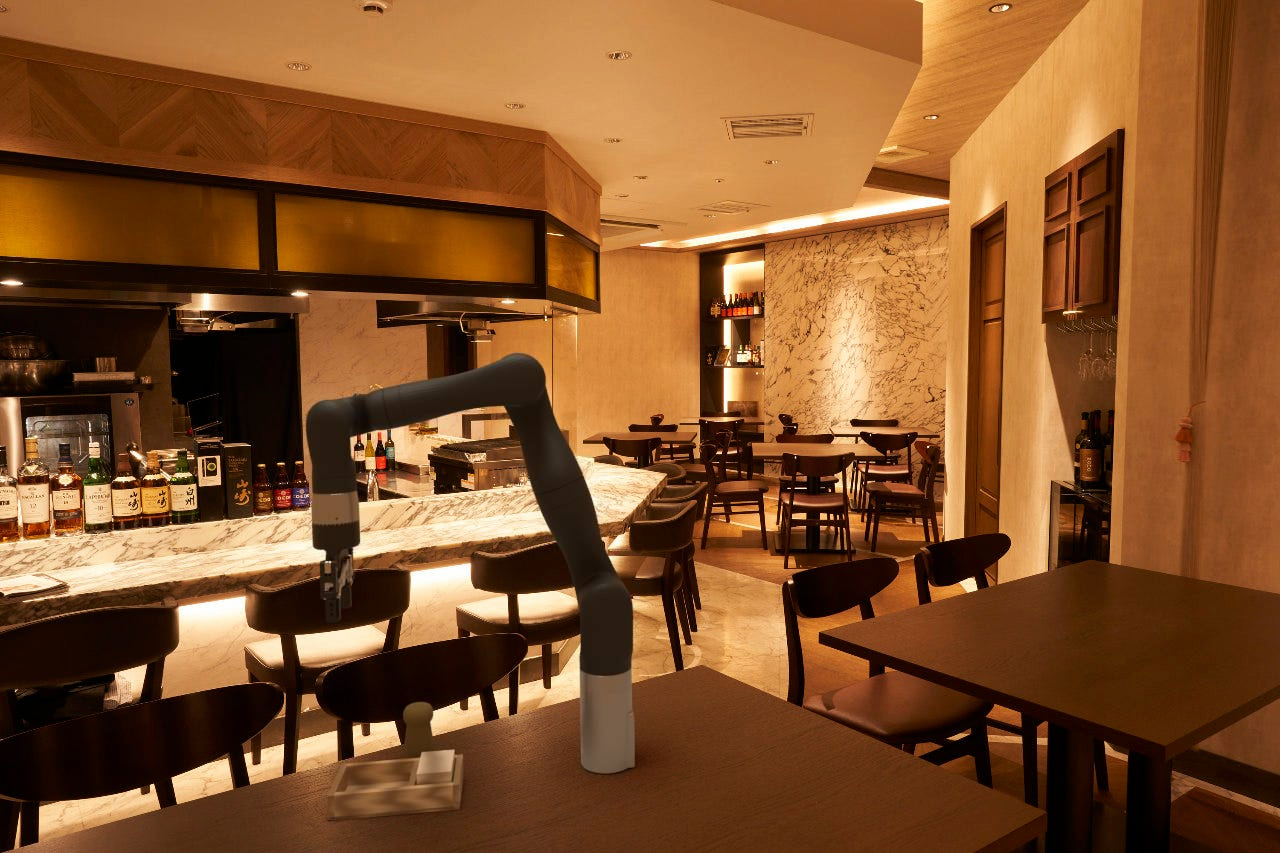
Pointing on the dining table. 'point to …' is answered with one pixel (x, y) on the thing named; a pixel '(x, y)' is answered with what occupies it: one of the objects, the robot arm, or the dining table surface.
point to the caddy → (397, 786)
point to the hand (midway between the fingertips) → (339, 614)
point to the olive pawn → (418, 730)
